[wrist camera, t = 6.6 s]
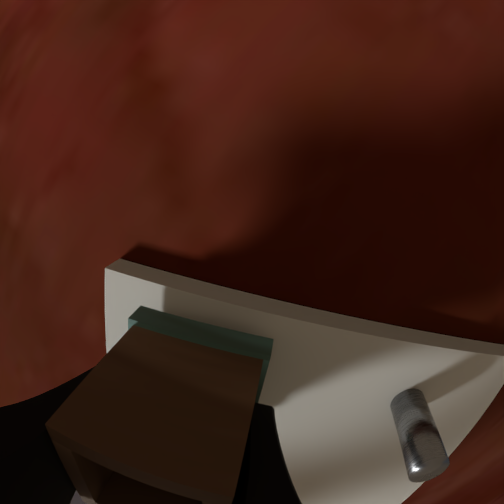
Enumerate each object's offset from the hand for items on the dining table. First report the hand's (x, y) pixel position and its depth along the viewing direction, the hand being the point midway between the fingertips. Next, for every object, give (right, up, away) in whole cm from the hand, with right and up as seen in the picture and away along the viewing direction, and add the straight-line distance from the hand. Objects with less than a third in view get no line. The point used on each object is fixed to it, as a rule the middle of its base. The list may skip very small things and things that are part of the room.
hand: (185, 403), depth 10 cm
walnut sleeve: (0, +1, +1) cm, 2 cm away
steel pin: (+9, -1, +2) cm, 9 cm away
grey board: (+4, -4, +5) cm, 8 cm away
